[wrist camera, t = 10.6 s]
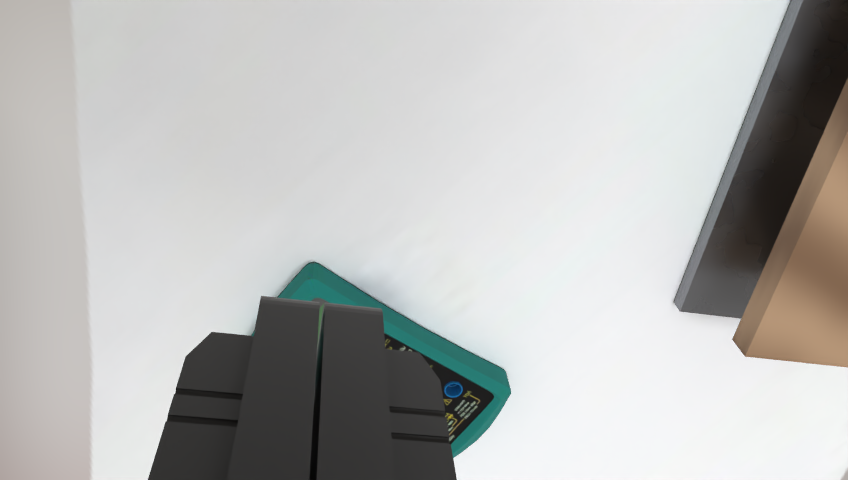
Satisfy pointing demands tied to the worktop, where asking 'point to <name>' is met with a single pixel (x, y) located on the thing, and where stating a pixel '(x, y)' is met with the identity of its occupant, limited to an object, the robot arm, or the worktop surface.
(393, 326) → the digital multimeter
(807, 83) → the levelling stand
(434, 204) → the worktop surface
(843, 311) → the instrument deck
